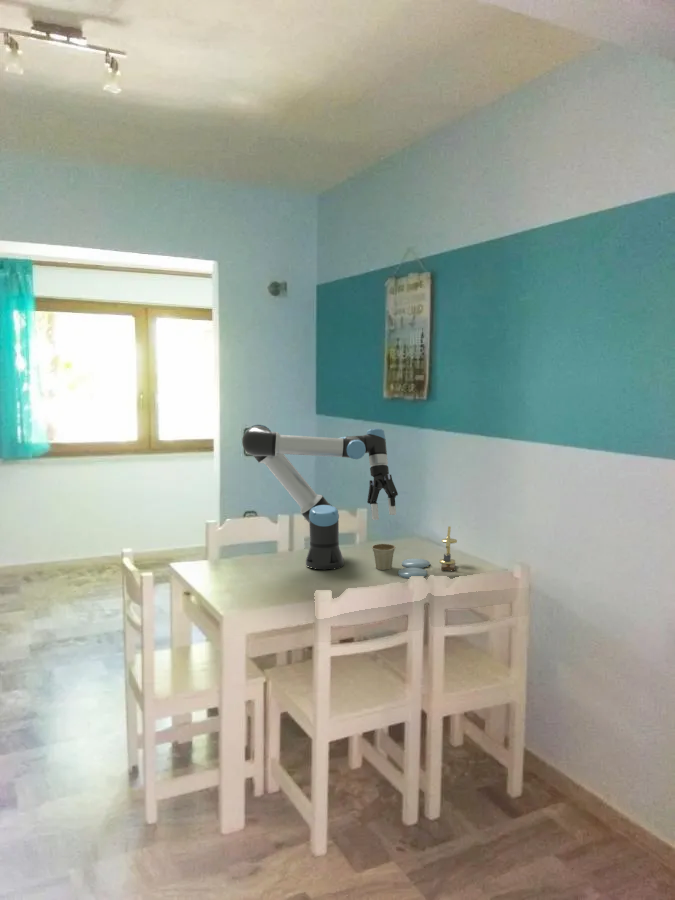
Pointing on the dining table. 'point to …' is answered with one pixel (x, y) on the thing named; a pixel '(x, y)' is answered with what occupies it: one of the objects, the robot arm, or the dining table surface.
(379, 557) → the flower pot
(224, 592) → the dining table surface
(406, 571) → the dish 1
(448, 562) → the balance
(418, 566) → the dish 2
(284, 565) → the dining table surface
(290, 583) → the dining table surface
